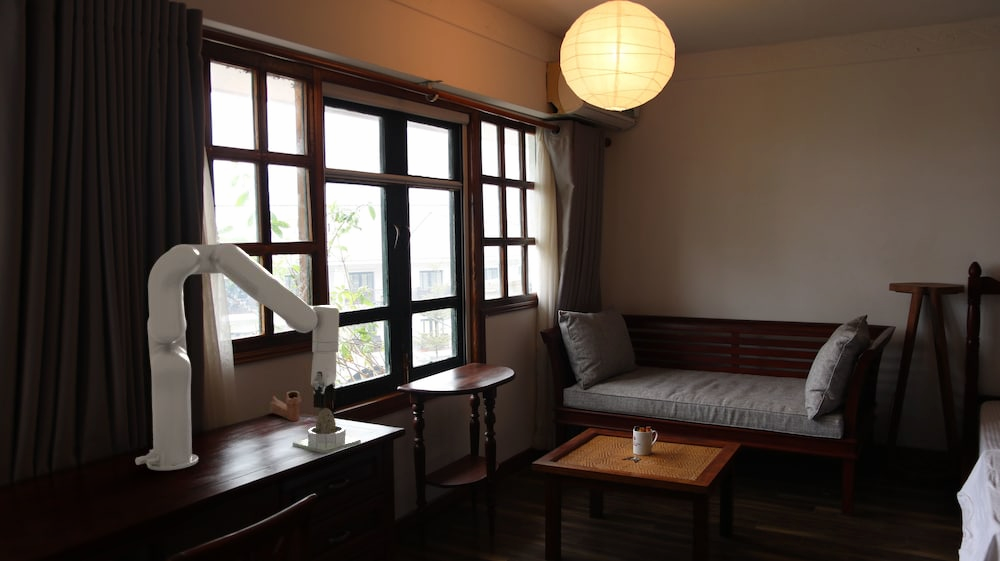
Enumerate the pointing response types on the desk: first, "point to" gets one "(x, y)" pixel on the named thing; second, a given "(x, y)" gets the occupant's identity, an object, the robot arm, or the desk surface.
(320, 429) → the decorative egg
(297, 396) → the pipe
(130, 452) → the desk surface
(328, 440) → the duct collar
